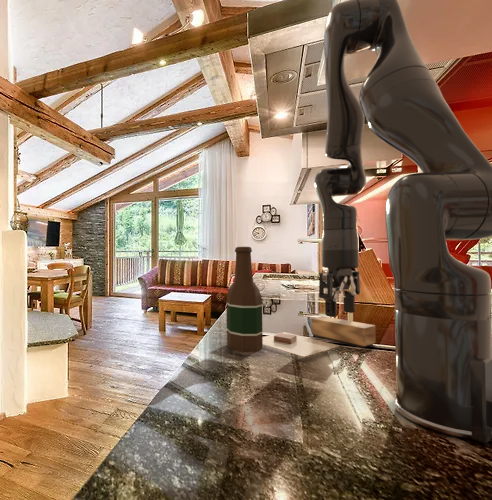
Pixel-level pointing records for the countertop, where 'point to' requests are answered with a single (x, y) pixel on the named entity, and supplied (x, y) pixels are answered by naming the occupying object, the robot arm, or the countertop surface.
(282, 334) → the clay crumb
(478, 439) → the robot arm
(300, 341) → the white tile
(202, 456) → the countertop surface
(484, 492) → the countertop surface
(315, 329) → the scrub brush
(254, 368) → the countertop surface
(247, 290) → the beer bottle
